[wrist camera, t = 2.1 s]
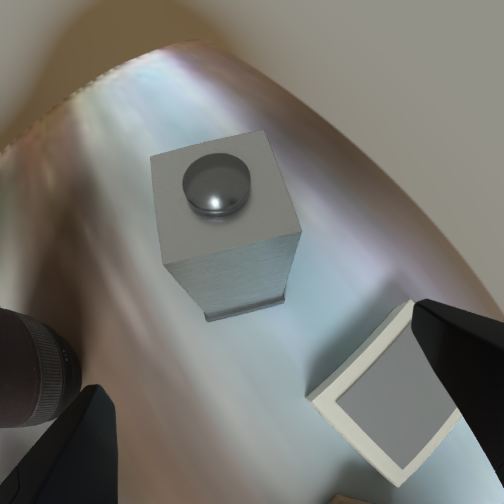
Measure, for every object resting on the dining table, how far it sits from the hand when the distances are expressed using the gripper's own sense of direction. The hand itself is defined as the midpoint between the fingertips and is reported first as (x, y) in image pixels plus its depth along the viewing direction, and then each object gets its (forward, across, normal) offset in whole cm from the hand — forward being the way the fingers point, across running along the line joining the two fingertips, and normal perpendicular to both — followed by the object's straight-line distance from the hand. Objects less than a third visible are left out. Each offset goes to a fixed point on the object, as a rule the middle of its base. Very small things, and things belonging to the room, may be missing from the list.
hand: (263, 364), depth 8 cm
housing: (+13, 0, +4) cm, 14 cm away
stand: (+5, -8, +12) cm, 16 cm away
